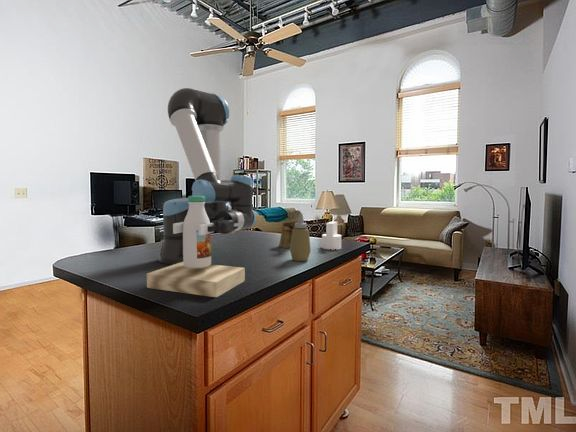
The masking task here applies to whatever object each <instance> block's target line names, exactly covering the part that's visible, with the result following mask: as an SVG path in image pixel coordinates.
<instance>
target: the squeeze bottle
mask: <svg viewBox="0 0 576 432" xmlns="http://www.w3.org/2000/svg"><path fill="white" fill-rule="evenodd" d="M304 220H305V219H304V216H303V213H302V214H299V218H298V222H297V223H295V229H293V230H292V237H291V245H290V248H289V251H290V256H291V258H292V260H293V261H296V262H305V261H308V260H309V257H310V254H311V238H310V230H309V229H308V227H307V226H308V225H307V224H308V223H307V222H305V221H304Z"/></svg>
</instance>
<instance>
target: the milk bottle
mask: <svg viewBox="0 0 576 432" xmlns="http://www.w3.org/2000/svg"><path fill="white" fill-rule="evenodd" d="M187 198H188V204H189V210H188V213H187V215H186V217H185V220H184V224H183V264H184V266H185V267H187V268H203V267H208V266H210V265H211V264H212V233H209V234H205V235H201V236H200V235H198V225H203V224H208V223H210V221H209V218H208V216H207V214H206V211H205V208H204V204H205V196H193V195H188V197H187Z"/></svg>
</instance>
